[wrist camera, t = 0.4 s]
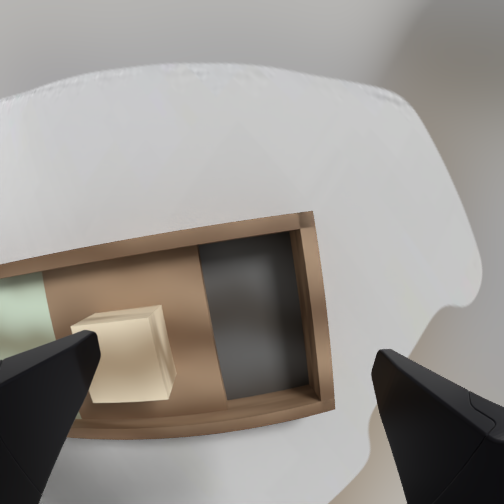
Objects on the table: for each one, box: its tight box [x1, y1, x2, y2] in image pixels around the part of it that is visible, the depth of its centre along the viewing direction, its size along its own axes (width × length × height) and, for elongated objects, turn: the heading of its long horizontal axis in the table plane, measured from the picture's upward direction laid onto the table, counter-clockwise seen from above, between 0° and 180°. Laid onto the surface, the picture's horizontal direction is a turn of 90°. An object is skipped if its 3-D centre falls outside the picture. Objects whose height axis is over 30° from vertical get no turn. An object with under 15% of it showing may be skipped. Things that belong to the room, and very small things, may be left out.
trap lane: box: [0, 211, 335, 440], centre depth 19 cm, size 14×35×4 cm, turn 99°
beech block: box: [71, 305, 177, 403], centre depth 18 cm, size 5×5×4 cm
